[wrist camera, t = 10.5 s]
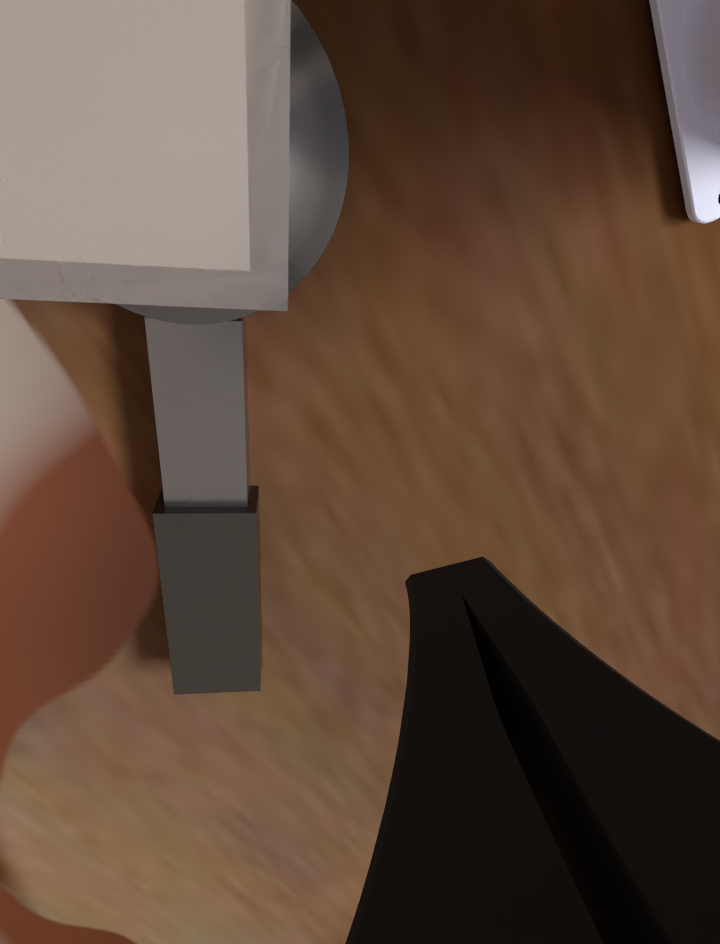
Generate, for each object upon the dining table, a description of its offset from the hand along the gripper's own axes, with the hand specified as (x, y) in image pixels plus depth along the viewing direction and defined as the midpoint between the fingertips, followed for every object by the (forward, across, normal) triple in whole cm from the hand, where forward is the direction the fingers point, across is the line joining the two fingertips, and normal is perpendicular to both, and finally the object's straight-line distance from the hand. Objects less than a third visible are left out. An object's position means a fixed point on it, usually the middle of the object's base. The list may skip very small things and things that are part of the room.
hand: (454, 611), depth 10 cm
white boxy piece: (+8, +3, -8) cm, 12 cm away
